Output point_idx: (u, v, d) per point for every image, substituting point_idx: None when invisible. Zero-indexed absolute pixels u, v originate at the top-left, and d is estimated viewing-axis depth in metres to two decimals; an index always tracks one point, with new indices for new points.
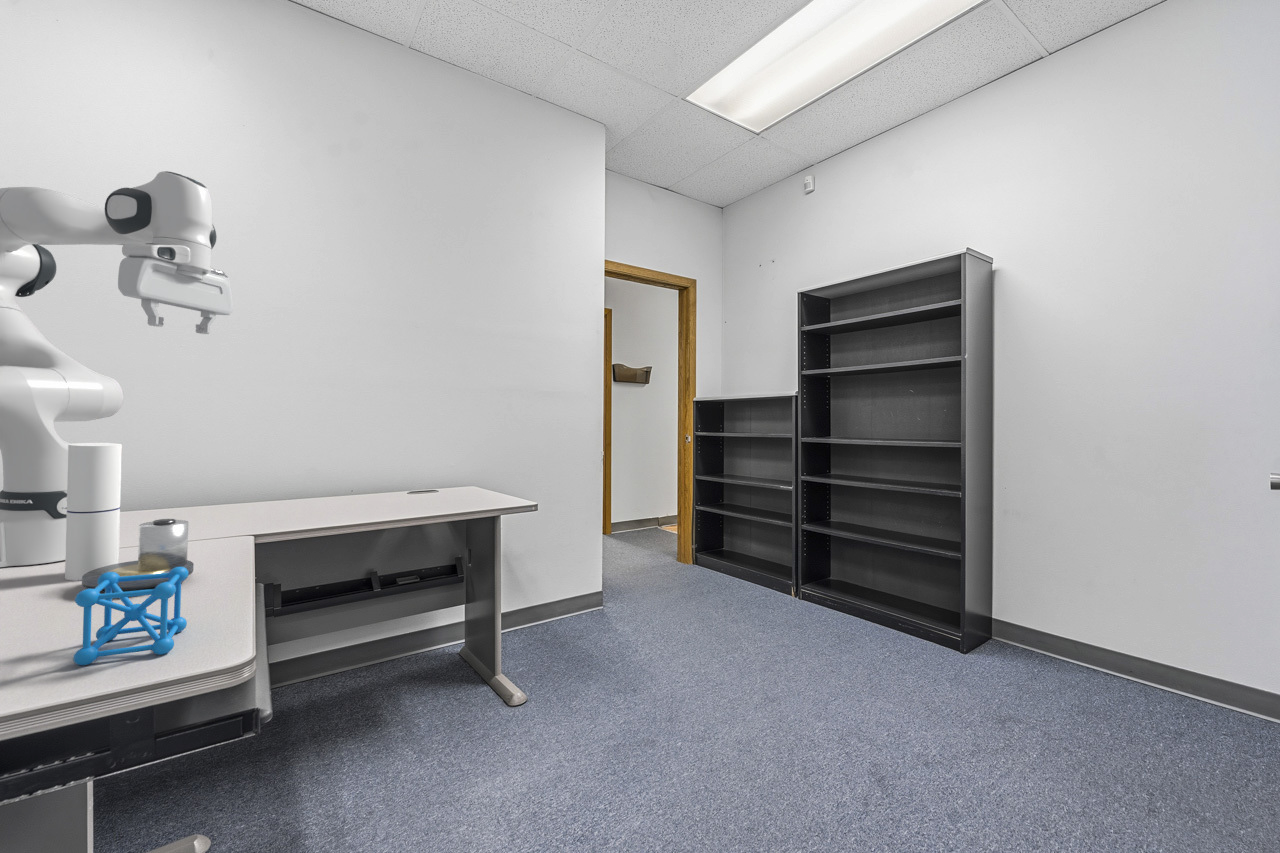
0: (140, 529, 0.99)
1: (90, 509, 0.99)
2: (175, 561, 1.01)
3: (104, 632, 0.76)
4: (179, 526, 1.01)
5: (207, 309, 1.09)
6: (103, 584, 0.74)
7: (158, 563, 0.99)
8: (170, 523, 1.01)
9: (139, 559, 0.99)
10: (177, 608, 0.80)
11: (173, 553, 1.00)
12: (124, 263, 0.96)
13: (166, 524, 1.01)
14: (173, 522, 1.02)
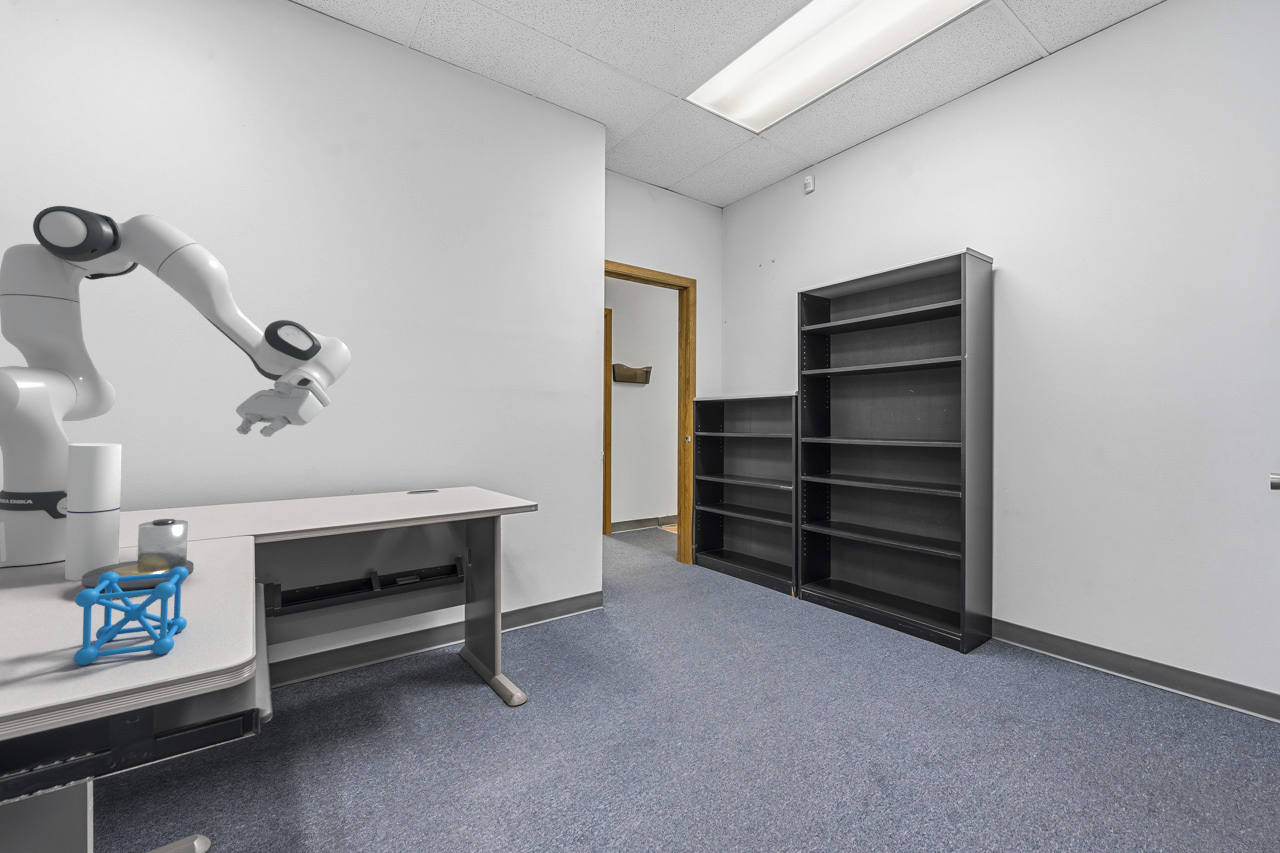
0: (139, 529, 0.99)
1: (90, 509, 0.99)
2: (175, 561, 1.01)
3: (104, 632, 0.76)
4: (178, 526, 1.01)
5: None
6: (103, 584, 0.74)
7: (157, 563, 0.99)
8: (169, 523, 1.01)
9: (138, 559, 0.99)
10: (177, 608, 0.80)
11: (172, 553, 1.00)
12: (312, 398, 1.18)
13: (165, 524, 1.01)
14: (172, 522, 1.02)
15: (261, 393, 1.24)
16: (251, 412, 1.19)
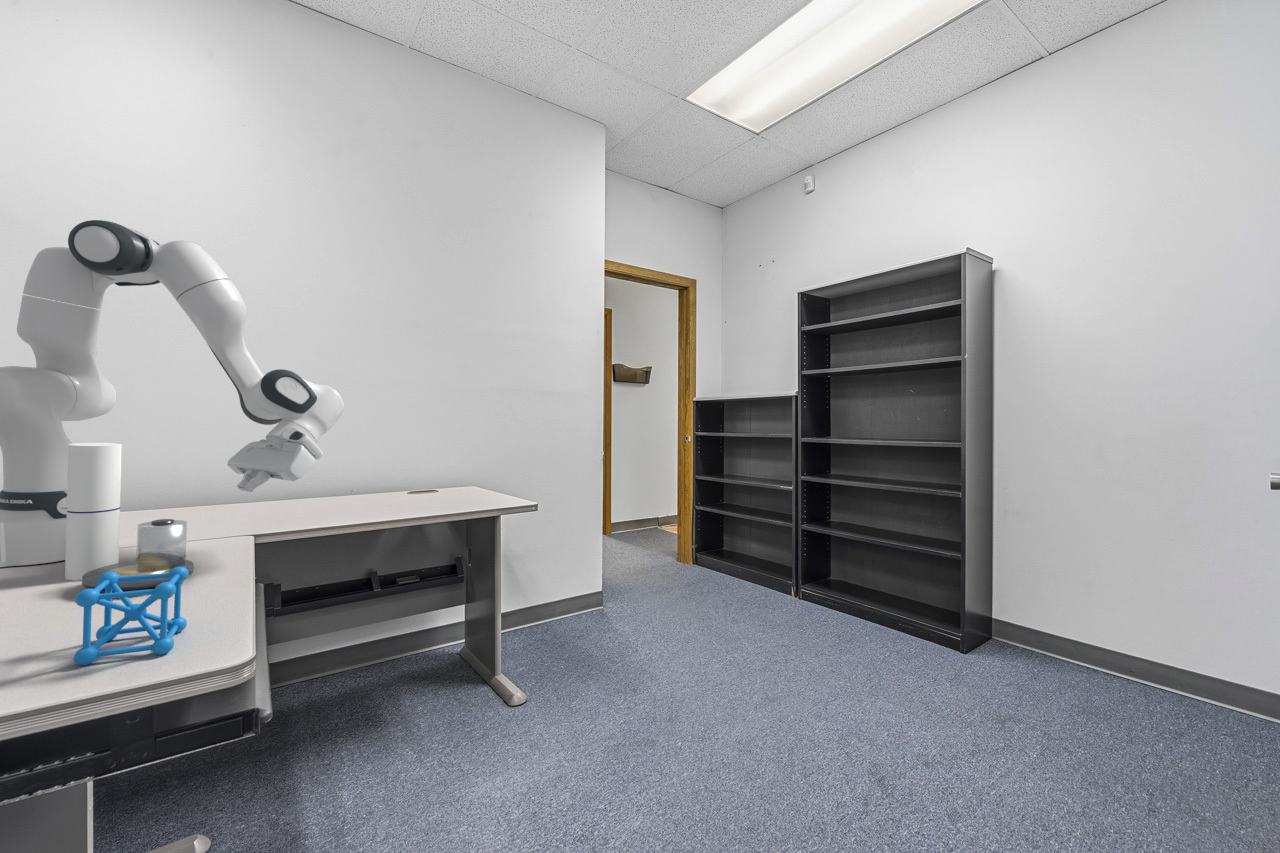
0: (138, 529, 0.99)
1: (90, 509, 0.99)
2: (174, 561, 1.01)
3: (104, 632, 0.76)
4: (177, 526, 1.01)
5: None
6: (103, 584, 0.74)
7: (156, 564, 0.99)
8: (168, 523, 1.01)
9: (137, 559, 0.99)
10: (177, 608, 0.80)
11: (171, 553, 1.00)
12: (304, 453, 1.17)
13: (164, 524, 1.00)
14: (171, 522, 1.02)
15: (253, 445, 1.23)
16: (243, 466, 1.18)
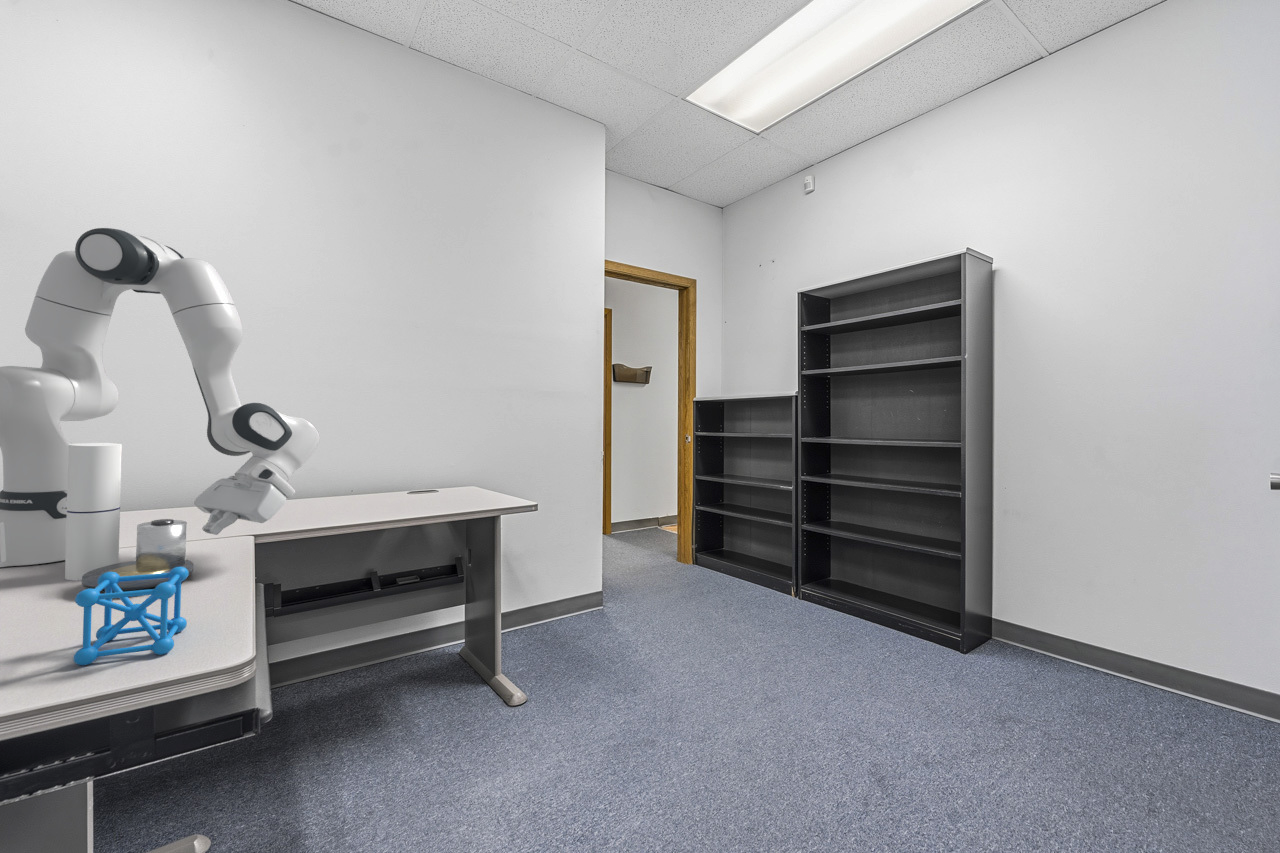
0: (138, 529, 0.98)
1: (90, 509, 0.99)
2: (173, 561, 1.01)
3: (104, 632, 0.76)
4: (177, 526, 1.01)
5: None
6: (103, 584, 0.74)
7: (156, 564, 0.99)
8: (168, 523, 1.01)
9: (137, 559, 0.99)
10: (177, 608, 0.80)
11: (171, 553, 1.00)
12: (273, 493, 1.11)
13: (164, 524, 1.00)
14: (171, 522, 1.02)
15: (221, 483, 1.17)
16: (209, 506, 1.12)
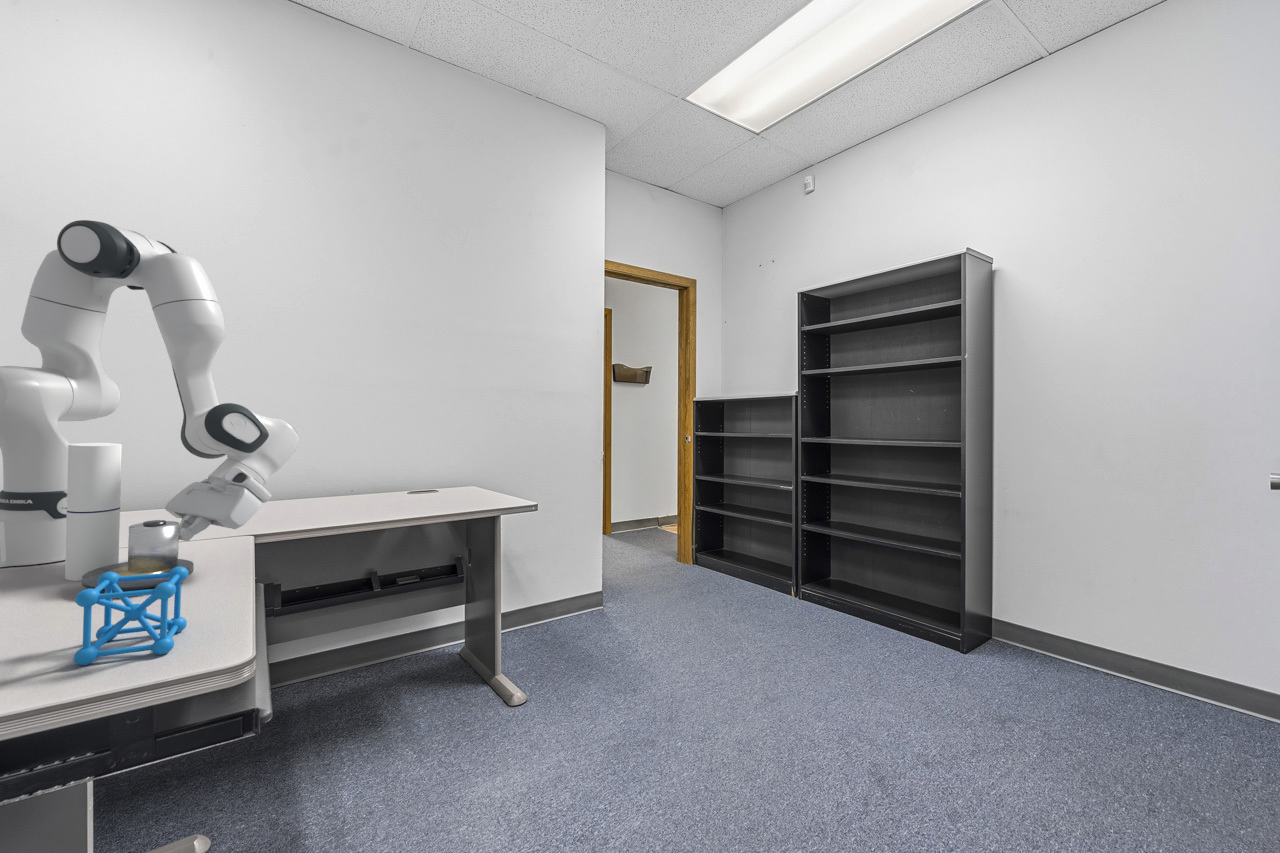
0: (130, 531, 0.97)
1: (90, 509, 0.99)
2: (166, 563, 0.99)
3: (104, 632, 0.76)
4: (169, 527, 1.00)
5: None
6: (103, 584, 0.74)
7: (148, 565, 0.98)
8: (160, 524, 1.00)
9: (129, 561, 0.97)
10: (177, 608, 0.80)
11: (163, 555, 0.99)
12: (248, 497, 1.07)
13: (156, 525, 0.99)
14: (163, 523, 1.00)
15: (194, 486, 1.12)
16: (180, 511, 1.08)
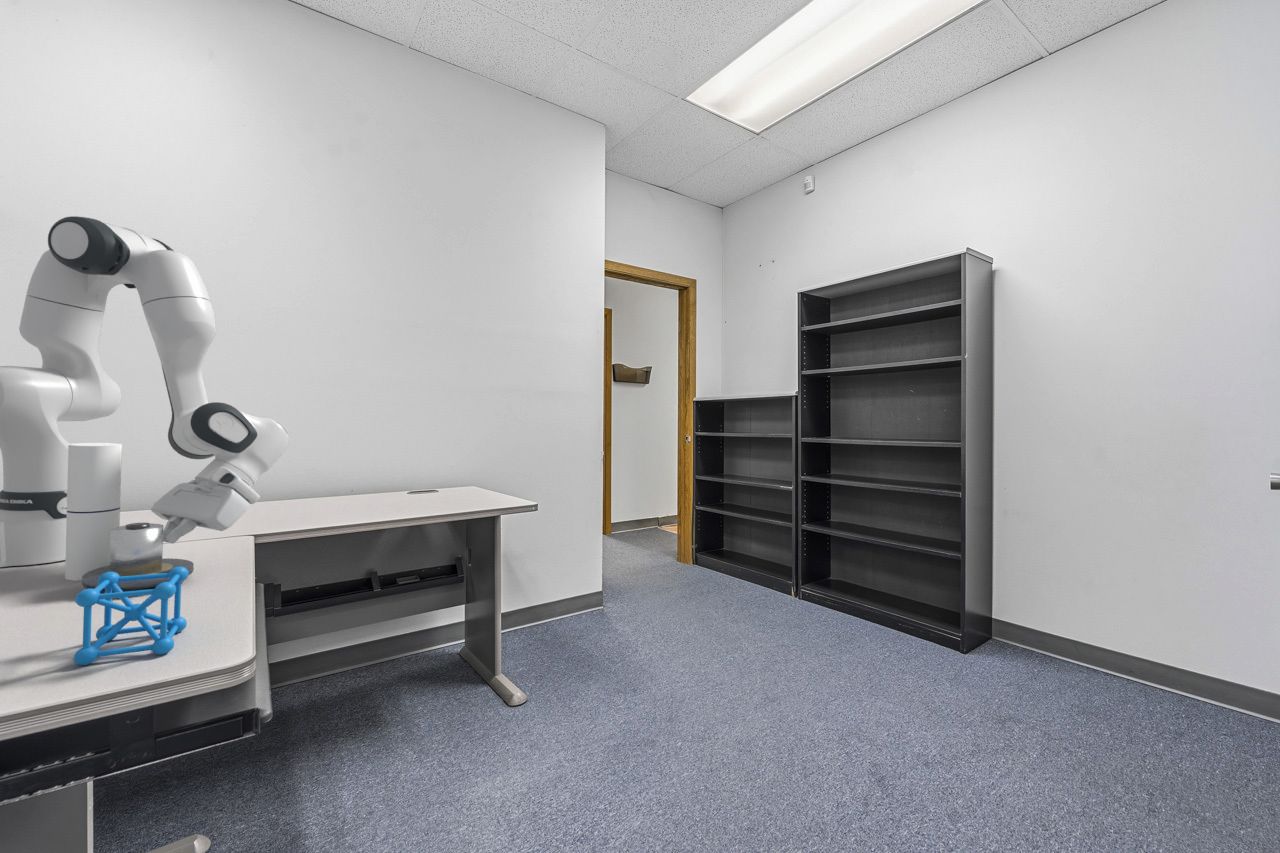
0: (111, 533, 0.95)
1: (90, 509, 0.99)
2: (149, 567, 0.97)
3: (104, 632, 0.76)
4: (153, 530, 0.97)
5: None
6: (103, 584, 0.74)
7: (130, 569, 0.95)
8: (143, 527, 0.97)
9: (111, 565, 0.95)
10: (177, 608, 0.80)
11: (146, 558, 0.97)
12: (235, 498, 1.04)
13: (139, 528, 0.97)
14: (147, 526, 0.98)
15: (181, 487, 1.10)
16: (166, 513, 1.05)
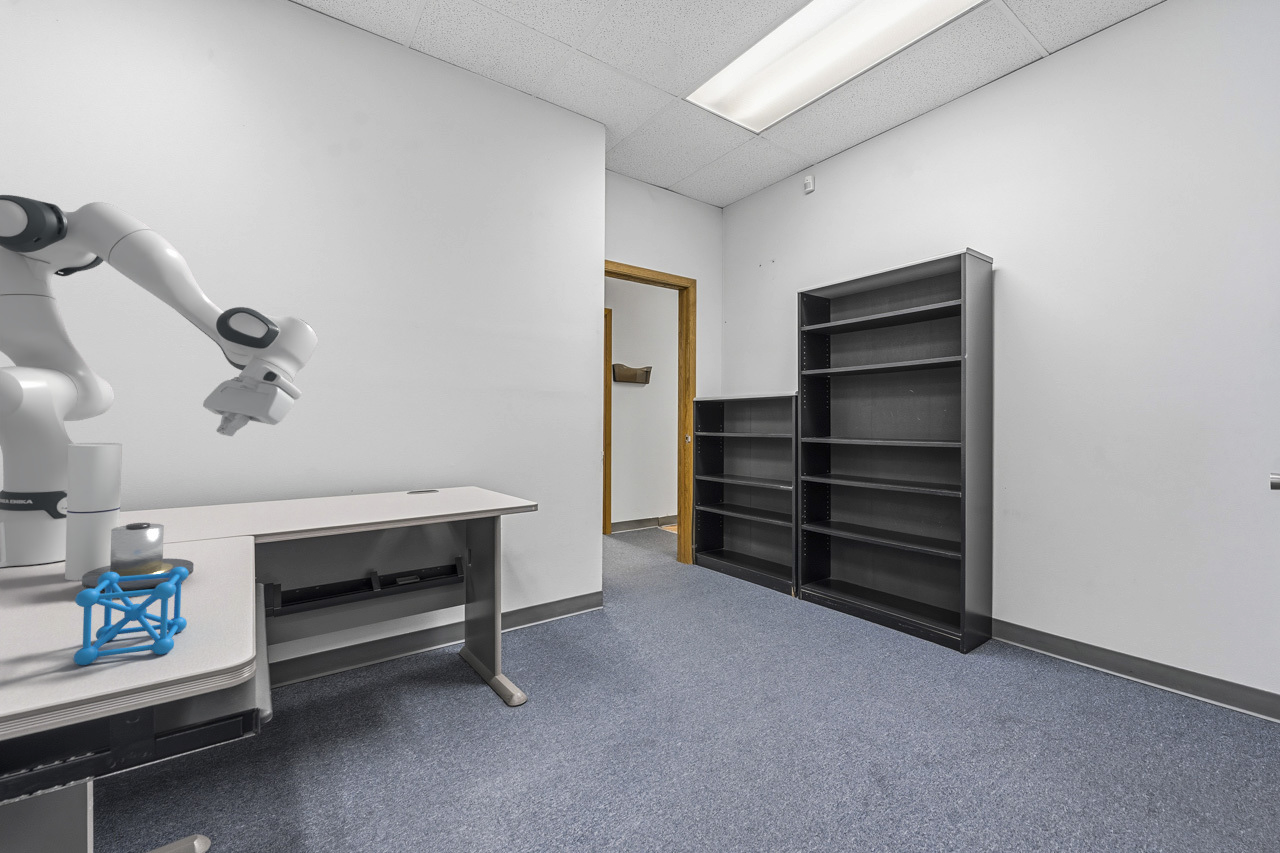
0: (112, 533, 0.95)
1: (90, 509, 0.99)
2: (149, 567, 0.97)
3: (104, 632, 0.76)
4: (153, 530, 0.97)
5: None
6: (103, 584, 0.74)
7: (130, 569, 0.95)
8: (144, 527, 0.97)
9: (111, 565, 0.95)
10: (177, 608, 0.80)
11: (146, 558, 0.97)
12: (281, 395, 1.12)
13: (139, 528, 0.97)
14: (147, 526, 0.98)
15: (227, 384, 1.17)
16: (219, 409, 1.14)
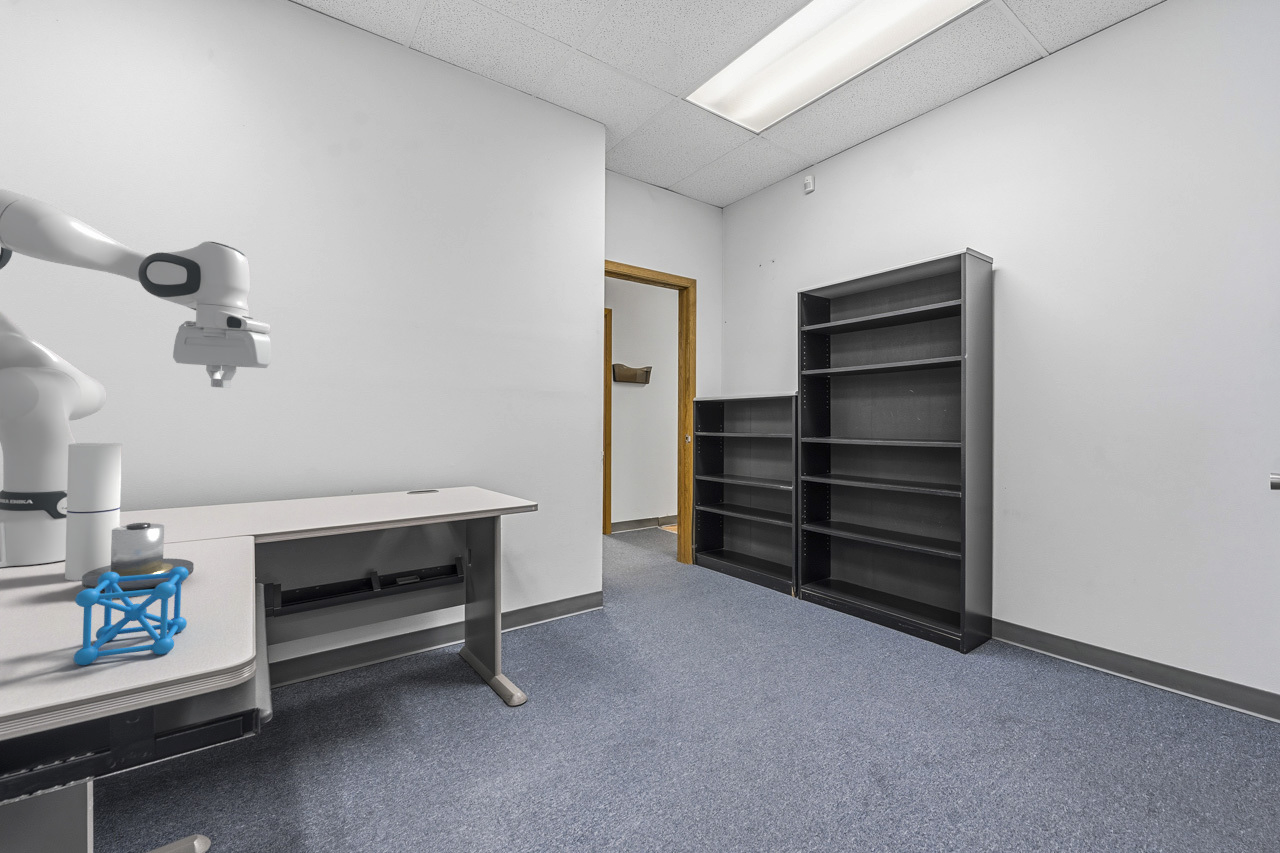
0: (112, 534, 0.95)
1: (90, 509, 0.99)
2: (149, 567, 0.97)
3: (104, 632, 0.76)
4: (153, 530, 0.97)
5: None
6: (103, 584, 0.74)
7: (131, 569, 0.95)
8: (144, 527, 0.97)
9: (111, 565, 0.95)
10: (177, 608, 0.80)
11: (147, 558, 0.96)
12: (257, 339, 1.11)
13: (140, 528, 0.97)
14: (148, 526, 0.98)
15: (185, 335, 1.13)
16: (198, 363, 1.13)
